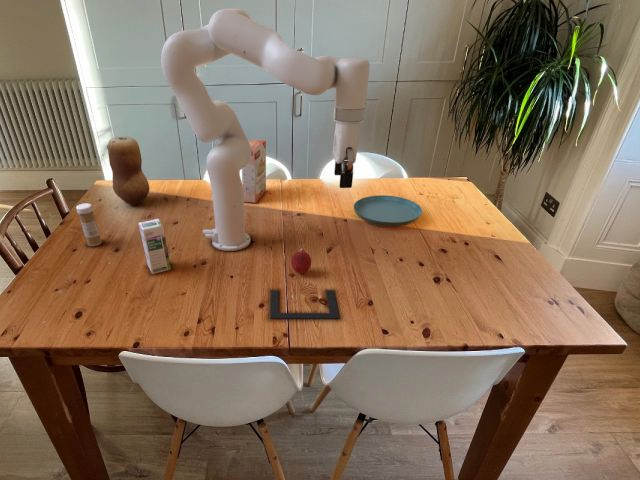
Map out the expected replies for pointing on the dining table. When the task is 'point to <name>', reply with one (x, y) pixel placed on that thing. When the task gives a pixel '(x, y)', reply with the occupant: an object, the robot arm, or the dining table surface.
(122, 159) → the butternut squash
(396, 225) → the saucer
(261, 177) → the cracker box
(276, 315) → the bay
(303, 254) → the onion
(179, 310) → the dining table surface
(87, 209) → the sprinkles bottle
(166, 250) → the syrup box
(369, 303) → the dining table surface
